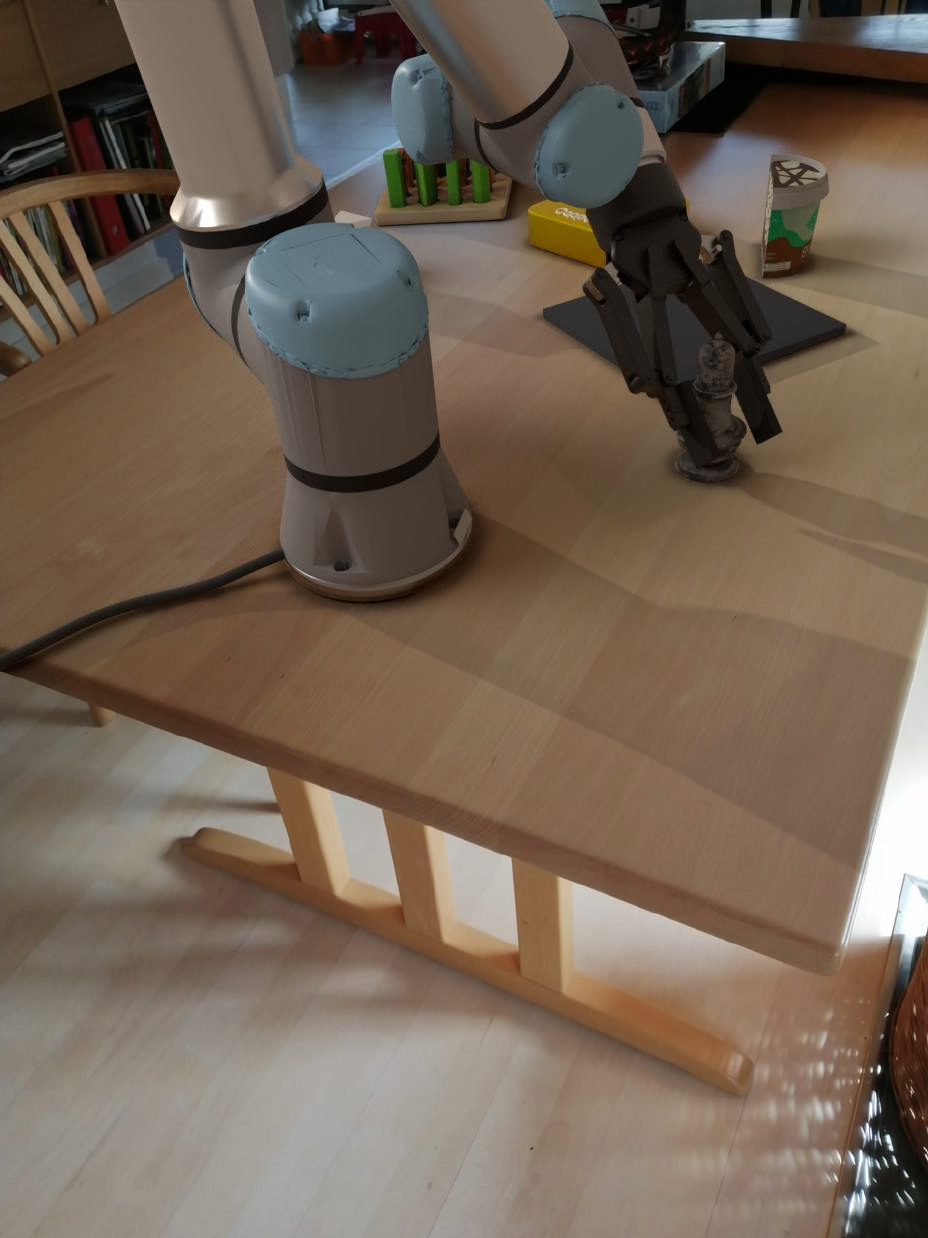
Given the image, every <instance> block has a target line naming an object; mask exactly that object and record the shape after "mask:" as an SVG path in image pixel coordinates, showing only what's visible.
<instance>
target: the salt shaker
mask: <svg viewBox="0 0 928 1238" xmlns="http://www.w3.org/2000/svg"><path fill="white" fill-rule="evenodd" d="M714 338H715V340H714V341H710V342H708V343H706V344H704V345H703V346H702V347H701V349H700V351H699V357H698V370H697V379H696V380H694V381H693V383H692V384H691V386H692V389H693V391H694V393H695V396H696V398H697V400H698V403H699V405H700V407H701V410H702V412H703V414H704V417H705V419H706V421H707V424H708V426H709V428H710V431H711V433H712V435H713V438H714V440H715V442H716V445H717V447H718V449H719V452H720V454H721V457H719V458H717V459H715V460H713V461H712V462H710V463H708V464H706V465H705V466H702V467H700V468H697V469H696V467H695V464H694V462H693V460H692V457H691V455H690V453H689V450H688V448H687V446H686V443H685V441H684V439H683V436H682V434H681V432H680V429H679V430H676V431H673V432H674V435H675V436H676V440H677V442H678V445H679V447H680V448H679V449H680V450H681V453H679V454H678V455H677V457H676V458H675V461H674V462H675V463H674V466H675V469H676V471H677V472H678V473H679V474H680V475H682V476H683V477H685V478H686V479H689V480H692V481H695V482H701V483H714V482H715V483H716V482H721V481H725V480H727V479H730V478H732V477H733V476H734V475H736V474H737V472H738V470H740V469H739V467H740V462H739V460H738V458H737V457H736V456H735V455H734V454H735V453H736V452H737V450H738V448H739V447H740V445H741V444H742V442H743V440H744V438H745V437H746V435H747V433H748V428H747V424H746V423H745V421H744V420H742V419H741V418H740V417H739V416H737V415H736V414H734V413H732V400H733V394H735V393H734V392H735V391H736V389H737V384H736V382H735V381H734V380H733V373H734V363H735V349H734V348H733V346H732V345H731V344H729V343H728V342H725V341H722V340H721V339H722V338H723V336H722V334H721V333H720V332H718V333H717V334H716V335H715V336H714Z"/></svg>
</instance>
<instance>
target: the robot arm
mask: <svg viewBox="0 0 928 1238" xmlns="http://www.w3.org/2000/svg"><path fill="white" fill-rule="evenodd" d="M113 1H114V3H115V6H116V9H117V12H118V15H119V18H120V20H121V23H122V26H123V29H124V31H125V33H126V36H127V40H128V42H129V45H130V48H131V50H132V53H133V56H134V58H135V61H136V64H137V67H138V69H139V72H140V74H141V78H142V80H143V83H144V87H145V89H146V91H147V92H146V93H147V95H148V97H149V100H150V103H151V105H152V108H153V111H154V114H155V116H156V119H157V122H158V124H159V128H160V130H161V133H162V135H163V138H164V141H165V144H166V146H167V149H168V152H169V154H170V157H171V160H172V163H173V166H174V169H175V172H176V174H177V177H178V179H179V182H180V184H179V185H180V186H179V188H178V191H177V193H176V195H175V196H174V199H173V201H172V203H171V206H170V209H169V216H170V219H171V221H172V224H173V227H174V229H175V232H176V235H177V237H178V240H179V243H180V245H181V248H182V251H183V253H182V267H183V273H184V275H183V276H184V279H185V283H186V286H187V290H188V294H189V296H190V298H191V301H192V304H193V305H194V307H195V309H196V310H197V313H198V314H199V315H200V317H201V319H202V320H203V321H204V322H205V324H206V325H207V326H208V328H210V329H211V330H212V332H214V333H215V335H217V336H218V337H219V338H221V339H222V340H223V341H224V342H226V344H227V345H228V346H229V348H231V350H232V351H233V352H234V353H235V354H236V355H237V357H238V358H239V359H240V360H241V361H242V362H243V363H244V365H245V366H246V367H247V368H248V369H249V370H250V371H251V373H252V374H254V376H255V377H256V378H257V379H258V381H259V382H260V383H261V384H262V386H264V388H265V390H266V392H267V395H268V397H269V400H270V403H271V406H272V411H273V415H274V419H275V423H276V428H277V433H278V437H279V442H280V445H281V449H282V453H283V457H284V462H285V466H286V473H287V474H286V480H285V490H284V495H283V503H282V511H281V518H280V524H279V525H280V526H279V544H280V547H279V548H278V549H275V550H273V551H270V552H268V553H265V554H263V555H260V556H259V557H256V558H254V559H251V560H249V561H247V562H244V563H242V564H240V565H238V566H235V567H234V568H232V569H230V570H227V571H225V572H223V573H221V574H219V575H216V576H213V577H210V578H207V579H204V580H201V581H198V582H194V583H191V584H188V585H184V586H183V585H182V586H179V587H175V588H171V589H166V590H162V591H156V592H152V593H148V594H144V595H140V596H135V597H132V598H128V599H125V600H121V601H118V602H115V603H112V604H109V605H106V606H104V607H101V608H98V609H95V610H93V611H91V612H89V613H86V614H83V615H82V616H80V617H77V618H75V619H73V620H71V621H69V622H67V623H65V624H63V625H61V626H59V627H57V628H55V629H52V630H51V631H49V632H47V633H45V634H43V635H41V636H39V637H36V638H35V639H33V640H31V641H29V642H27V643H25V644H23V645H20V646H19V647H15V648H13V649H11V650H8V651H6V652H3V653H0V669H2V668H4V667H8V666H10V665H12V664H14V663H17V662H19V661H21V660H23V659H26V658H29V657H31V656H32V655H34V654H37V653H39V652H41V651H43V650H45V649H46V648H47V649H48V647H51V646H53V645H54V644H56V643H58V642H61V641H62V640H64V639H66V638H68V637H71V636H72V635H74V634H76V633H78V632H80V631H82V630H84V629H86V628H88V627H90V626H93V625H96V624H97V623H100V622H103V621H105V620H108V619H110V618H113V617H116V616H120V615H122V614H126V613H129V612H133V611H136V610H140V609H144V608H147V607H152V606H156V605H161V604H165V603H171V602H174V601H179V600H183V599H187V598H191V597H195V596H199V595H203V594H204V593H208V592H212V591H215V590H217V589H220V588H222V587H225V586H227V585H229V584H231V583H233V582H235V581H238V580H240V579H242V578H244V577H246V576H249V575H251V574H252V573H255V572H257V571H259V570H262V569H265V568H266V567H269V566H271V565H274V564H276V563H278V562H280V561H281V562H282V561H283V562H284V565H285V567H286V570H287V571H288V573H289V574H290V575H291V576H292V578H293V579H294V580H295V581H296V582H297V583H298V584H300V585H301V586H302V587H304V588H306V589H307V590H309V591H310V592H313V593H315V594H317V595H321V596H323V597H327V598H330V599H335V600H340V601H350V602H375V601H376V602H377V601H385V600H391V599H396V598H400V597H404V596H409V595H411V594H414V593H417V592H419V591H423V590H424V589H427V588H429V587H430V586H433V585H434V584H436V583H438V582H440V581H442V580H443V579H445V578H446V577H448V575H450V574H451V573H453V572H454V570H456V569H457V568H458V567H459V566H460V565H461V564H462V562H463V561H464V560H465V558H466V557H467V555H468V554H469V552H470V550H471V547H472V545H473V540H474V527H473V526H474V525H473V517H472V516H473V514H472V510H471V507H470V505H469V502H468V499H467V496H466V494H465V492H464V490H463V488H462V487H461V485H460V482H459V480H458V479H457V476H456V475H455V472H454V470H453V468H452V467H451V465H450V462H449V460H448V459H447V456H446V454H445V453H444V450H443V449H442V444H441V436H440V427H439V419H438V418H439V417H438V416H439V415H438V407H437V399H436V389H435V387H436V386H435V378H434V377H435V376H434V369H433V359H432V349H431V348H432V347H431V337H430V328H429V322H430V320H429V319H430V317H429V316H430V311H429V303H428V296H427V295H426V292H425V289H424V286H423V282H422V276H421V271H420V267H419V265H418V263H417V260H416V258H415V257H414V255H413V253H412V252H411V251H410V249H409V248H408V247H407V246H406V245H405V244H404V243H403V242H401V241H400V240H399V239H398V238H396V237H395V236H393V235H392V234H390V233H388V232H386V231H384V230H381V229H380V230H378V229H376V228H372V227H369V226H364V227H362V228H355V226H354V225H353V224H352V223H336V222H335V219H334V218H335V215H334V211H333V207H332V204H331V200H330V196H329V192H328V189H327V185H326V181H325V178H324V175H323V171H322V169H321V168H320V167H319V166H318V165H316V164H315V163H313V162H312V161H309V160H308V159H307V158H305V157H303V156H301V155H300V154H298V153H297V151H296V150H295V146H294V143H293V139H292V135H291V131H290V128H289V125H288V121H287V118H286V115H285V114H286V113H285V111H284V107H283V103H282V100H281V97H280V92H279V89H278V86H277V85H278V84H277V82H276V78H275V75H274V71H273V68H272V63H271V61H270V56H269V53H268V49H267V45H266V42H265V38H264V36H263V32H262V29H261V25H260V24H261V23H260V20H259V18H258V14H257V11H256V7H255V3H254V0H113ZM387 1H388V2H389V3H390V5H391V6H392V7H393V9H394V10H395V11H396V13H397V14H398V16H399V17H400V18H401V20H402V21H403V22H404V23H405V25H406V26H407V28H408V29H409V30H410V32H411V33H412V34H413V36H414V37H415V38H416V40H417V41H418V42H419V44H420V45H421V47H422V48H423V49H424V50H425V52H426V53H424V54H422V55H418V56H415V57H411V58H408V59H405V60H404V61H402V62H401V63H400V65H399V66H398V67H397V68H396V70H395V73H394V75H393V79H392V84H391V94H390V100H391V110H392V111H391V112H392V118H393V123H394V127H395V130H396V132H397V136H398V138H399V141H400V143H401V146H402V148H404V149H405V151H406V152H407V154H408V155H409V156H410V157H411V159H412V160H414V161H415V162H416V163H418V164H421V165H432V164H438V163H446V164H450V163H451V162H452V161H454V160H457V159H460V158H469V159H470V161H471V160H473V161H475V162H477V163H479V164H481V165H483V166H485V167H487V168H489V169H491V170H493V171H496V172H498V173H501V174H503V175H505V176H507V177H509V178H511V179H513V180H512V181H514V182H517V183H519V184H520V185H522V186H525V187H527V188H529V189H530V190H533V191H534V192H536V193H538V194H540V195H542V196H543V198H544V199H545V200H547V199H548V200H550V201H552V202H562V203H565V204H568V205H570V206H573V207H576V208H581V209H586V211H585V214H586V217H587V219H588V222H589V224H590V226H591V229H592V231H593V233H594V236H595V238H596V240H597V243H598V245H599V247H600V248H601V249H602V250H603V251H605V254H606V263H605V264H606V266H605V267H603V268H599V267H596V269H595V270H594V271H593V272H592V273H591V274H590V275H589V277H588V278H587V279H586V280H585V282H584V283H583V284H582V286H581V288H582V292H583V294H584V296H587V297H588V298H589V300H590V301H591V302H592V303H593V305H594V306H595V307H596V308H597V310H598V312H599V315H600V318H601V320H602V323H603V325H604V328H605V330H606V333H607V335H608V338H609V341H610V343H611V346H612V348H613V351H614V353H615V356H616V358H617V361H618V364H619V366H620V368H619V369H620V371H621V373H622V376H623V379H624V381H625V383H626V386H627V389H628V391H629V392H630V393H631V394H632V395H640V394H641V393H643V394H644V393H645V394H646V396H647V397H648V398H649V399H653V400H654V399H657V400H658V402H659V405H660V408H661V411H662V412H663V414H664V417H665V419H666V421H667V424H668V426H669V427H670V429H671V430H672V431H673V432H674V431H676V430H679V429H680V432H681V434H682V436H683V439H684V441H685V443H686V446H687V448H688V450H689V453H690V455H691V457H692V460H693V462H694V464H695V467H696V469H697V468H700V467H702V466H705V465H706V464H708V463H710V462H712V461H713V460H715V459H717V458H719V457H721V454H720V452H719V449H718V447H717V445H716V442H715V440H714V438H713V435H712V433H711V431H710V428H709V426H708V424H707V421H706V419H705V417H704V414H703V412H702V410H701V407H700V405H699V403H698V400H697V398H696V396H695V393H694V391H693V389H692V386H691V384H690V382H689V380H686V381H683V382H681V383H679V384H678V385H677V383H676V382H677V380H678V377H677V370H676V364H675V358H674V352H673V346H672V340H671V334H670V328H669V322H668V316H667V309H666V298H667V294H675V296H676V297H677V298H678V300H679V301H680V302H681V303H685V304H687V305H688V307H689V308H690V309H691V311H692V312H693V313H694V315H695V316H696V317H697V319H698V320H699V321H700V323H701V324H702V325H703V327H704V328H705V329H706V331H707V332H708V333H709V335H710V336H711V337H712V339H713V340H715V338H714V336H715V335H716V334H717V333H718V332H720V333H721V334H722V336H723V338H722V339H721V340H722V341H725V342H728V343H729V344H731V345H732V346H733V348H734V349H735V363H734V373H733V380H734V381H735V382H736V384H737V389H736V391H735V392H734V393H733V394H734V396H735V398H736V400H737V403H738V405H739V407H740V410H741V412H742V414H743V416H744V419H745V420H746V423H747V424H746V425H748V428H749V430H750V433H751V435H752V437H753V440H754V442H755V444H756V446H758V445H760V444H763V443H766V442H767V441H769V440H771V439H773V438H775V437H776V436H778V435H780V434H782V433H783V432H784V431H783V428H782V426H781V423H780V422H779V419H778V417H777V415H776V413H775V409H774V407H773V405H772V403H771V400H770V398H769V396H768V395H770V394H771V393H772V392H771V391H772V389H771V385H770V382H769V380H768V378H767V375H766V372H765V371H764V369H763V366H762V364H761V363H760V361H759V358H758V353H759V352H760V351H762V349H763V347H764V346H765V345H766V344H767V343H768V342H769V341H771V339H772V332H771V330H770V328H769V326H768V324H767V321H766V319H765V317H764V315H763V313H762V311H761V309H760V307H759V304H758V302H757V300H756V298H755V296H754V294H753V292H752V290H751V287H750V285H749V283H748V281H747V279H746V277H747V276H746V275H745V273H744V270H743V268H742V266H741V264H740V262H739V259H738V257H737V253H736V247H735V239H734V235H733V233H732V232H731V231H730V230H729V229H722V230H720V232H719V233H718V234H716V235H711V234H701V232H700V230H699V229H698V228H697V227H696V226H695V225H694V224H693V223H692V222H691V220H690V218H689V219H688V216H687V207H686V199H685V197H686V196H685V195H684V193H683V190H682V188H681V186H680V183H679V181H678V178H677V176H676V174H675V172H674V170H673V167H672V166H671V165H669V164H667V163H666V161H667V152H666V150H665V147H664V145H663V143H662V141H661V138H660V136H659V134H658V132H657V130H656V127H655V125H654V123H653V121H652V119H651V116H650V114H649V111H647V108H646V106H645V103H644V101H643V99H642V96H641V94H640V92H639V89H638V87H637V84H636V82H635V79H634V77H633V75H632V72H631V69H630V68H629V65H628V62H627V60H626V57H625V55H624V52H623V50H622V48H621V44H620V42H619V40H618V35H617V33H616V31H615V28H614V27H613V25H611V23H610V21H609V19H608V17H607V15H606V13H605V11H604V9H603V8H602V6H601V5H600V2H599V1H598V0H387ZM684 196H685V197H684ZM700 256H701V257H702V258H701V259H702V263H703V264H704V265H707V267H708V271H709V272H708V271H707V270H706V268H705V267H704V266H703V264H702V263H701V261H700ZM745 276H746V277H745ZM711 279H712V281H713V284H714V286H715V288H716V289H715V288H714V286H713V285H712V283H711ZM692 281H693V284H691V285H690V286H688V284H689V283H691V282H692ZM620 284H623V285H625V286H626V287H628V288H629V289H630V290H631V294H632V300H633V307H634V312H635V314H636V315H638V318H639V324H640V331H641V337H642V340H641V337H640V335H639V332H638V329H637V327H636V324H635V322H634V319H633V317H632V314H631V312H630V309H629V307H628V304H627V301H626V299H625V297H624V294H623V292H622V291H621V289H620V287H619V286H620Z"/></svg>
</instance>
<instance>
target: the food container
mask: <svg viewBox="0 0 928 1238" xmlns="http://www.w3.org/2000/svg"><path fill="white" fill-rule="evenodd" d="M766 189H767V190H766V199H765V207H764V216H763V224H762V225H763V226H762V235H761V244H760V248H761V249H760V250H761V273H762V276H761V277H762V279H770V278H772V279H773V278H780V277H787V276H790V275H793V274H796V273H798V272H800V271H802V270H804V269H805V267H806V266H807V264H808V260H809V256H810V252H811V246H812V242H813V237H814V233H815V228H816V224H817V219H818V215H819V214H818V213H819V210H820V206H821V202H822V200H824V199H825V198H826V197H828V195H829V193H830V181H829V175H828V172H827V168H826V166H825V165H824V164H823V163H821V162H820V161H818V160H815V159H812V158H810V157H806V156H802V155H796V154H786V153H785V154H784V153H783V154H782V153H771V154H770V160H769V167H768V181H767V188H766Z"/></svg>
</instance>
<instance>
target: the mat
mask: <svg viewBox="0 0 928 1238" xmlns="http://www.w3.org/2000/svg"><path fill="white" fill-rule="evenodd" d="M702 259H703V258H699V260H700V261H701V263H702ZM702 264H703V263H702ZM703 266H704V267H705V268H706V270H707V271H708V267H707V265H704V264H703ZM708 272H709V271H708ZM745 277H746V279H747V281H748V283H749V285H750V287H751V290H752V292H753V294H754V296H755V298H756V300H757V302H758V304H759V307H760V309H761V311H762V313H763V315H764V317H765V319H766V321H767V324H768V326H769V328H770V330H771V332H772V339H771V341H769V342H768V343H767V344H766V345H765V346H764V347H763V349H762V351H760V352H759V353H758V358H759V361H760V363H761V365H762V364H765V363H768V362H771V361H773V360H777V359H779V358H782V357H784V356H787V355H790V354H793V353H795V352H799V351H801V350H804V349H806V348H808V347H812V346H814V345H817V344H821V343H823V342H826V341H828V340H831V339H833V338H837V337H840V336H842V335H845V334H846V331H847V323H845V322H842V321H840V320H838V319H836V318H834V317H832V316H830V315H828V314H826V313H824V312H821V311H819V310H817V309H815V308H813V307H811V306H809V305H807V304H805V303H803V302H800V301H798V300H796V299H794V298H792V297H790V296H788V295H786V294H784V293H782V292H780V291H777V290H776V289H773V288H771V287H769V286H767V285H765V284H763V283H760V282H759V281H756V280H754V279H753V278H751V277H748V276H746V275H745ZM711 283H712V285H713V286H714V284H713V281H712V279H711ZM619 284H620V286H619V287H620V289H621V291H622V292H623V294H624V297H625V299H626V301H627V304H628V307H629V309H630V312H631V314H632V317H633V319H634V322H635V324H636V327H637V329H638V332H639V335H640V337H641V331H640V324H639V318H638V315H636V314H635V312H634V307H633V300H632V294H631V290H630V289H629V288H628V287H626V286H625V285H623V284H622V283H619ZM691 284H693V281H692V282H691V283H689V284H688V286H690V285H691ZM714 288H715V286H714ZM715 289H716V288H715ZM666 309H667V316H668V322H669V328H670V334H671V340H672V346H673V352H674V358H675V364H676V370H677V377H678V380H677V382H676V383H677V385H678V384H679V383H681V382H683V381H686V380H689V382H690V384H692V383H693V381H694V380H696V379H697V370H698V357H699V351H700V349H701V347H702V346H703V345H704V344H706V343H708V342H710V341H714V340H713V339H712V337H711V336H710V335H709V333H708V332H707V331H706V329H705V328H704V327H703V325H702V324H701V323H700V321H699V320H698V319H697V317H696V316H695V315H694V313H693V312H692V311H691V309H690V308H689V307H688V305H687V304H685V303H681V302H680V301H679V300H678V298H677V297H676V296H675V294H667V298H666ZM542 318H543V319H545V320H546V321H548V322H549V323H551V324H552V325H554V326H556V327H557V328H559V329H560V330H562V331H563V332H564V333H566V334H568V335H569V336H571V337H572V338H574V339H576V340H577V341H578V342H580V343H581V344H582V345H584V346H585V347H587V348H588V349H590V350H592V351H593V352H594V353H597V354H598V355H600V356H601V357H603V358H604V359H606V360H607V361H608V362H610V363H612V364H613V365H614V366H616V367H618V368H619V369H620V366H619V364H618V361H617V358H616V356H615V353H614V351H613V348H612V346H611V343H610V341H609V338H608V335H607V333H606V330H605V328H604V325H603V323H602V320H601V318H600V315H599V312H598V310H597V308H596V307H595V306H594V305H593V303H592V302H591V301H590V300H589V298H588V297H587V296H586V295H583V296H579V297H576V298H573V299H570V300H567V301H564V302H561V303H557V304H554V305H551V306H547V307H544V308H542ZM641 340H642V337H641Z"/></svg>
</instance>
